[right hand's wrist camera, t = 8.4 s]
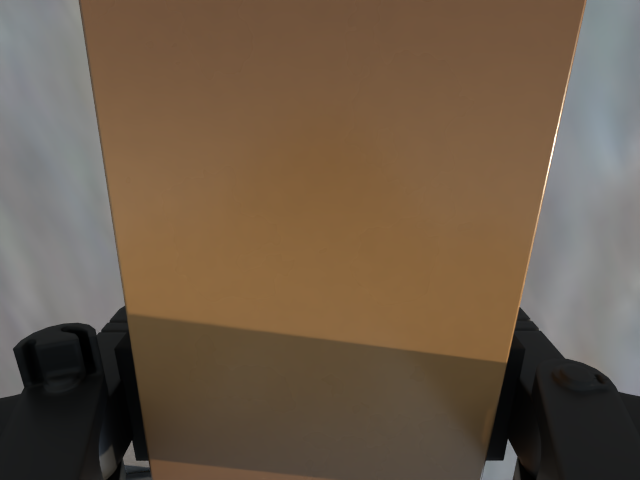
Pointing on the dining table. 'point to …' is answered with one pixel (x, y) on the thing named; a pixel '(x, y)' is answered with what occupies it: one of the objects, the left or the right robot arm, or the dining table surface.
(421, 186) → the post
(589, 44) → the dining table surface
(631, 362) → the dining table surface
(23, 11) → the dining table surface
